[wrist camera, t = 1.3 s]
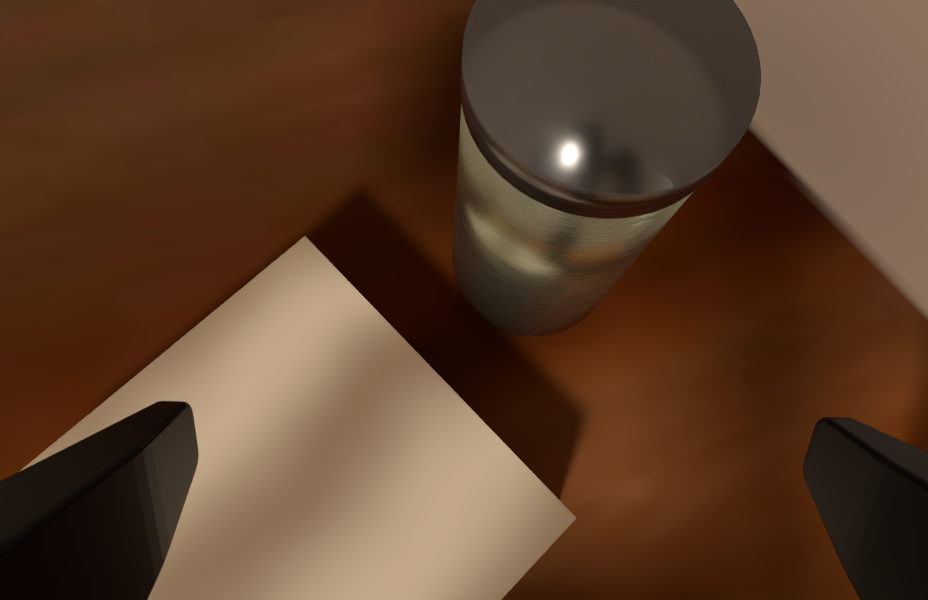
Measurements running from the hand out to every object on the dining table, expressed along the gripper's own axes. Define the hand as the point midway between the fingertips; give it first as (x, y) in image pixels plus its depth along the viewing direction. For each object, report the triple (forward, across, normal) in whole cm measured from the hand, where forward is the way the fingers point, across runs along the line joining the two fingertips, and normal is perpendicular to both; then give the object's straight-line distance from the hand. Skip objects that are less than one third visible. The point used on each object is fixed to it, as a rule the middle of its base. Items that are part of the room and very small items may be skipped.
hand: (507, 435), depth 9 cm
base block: (+10, +5, +10) cm, 15 cm away
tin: (+15, -2, +3) cm, 16 cm away
